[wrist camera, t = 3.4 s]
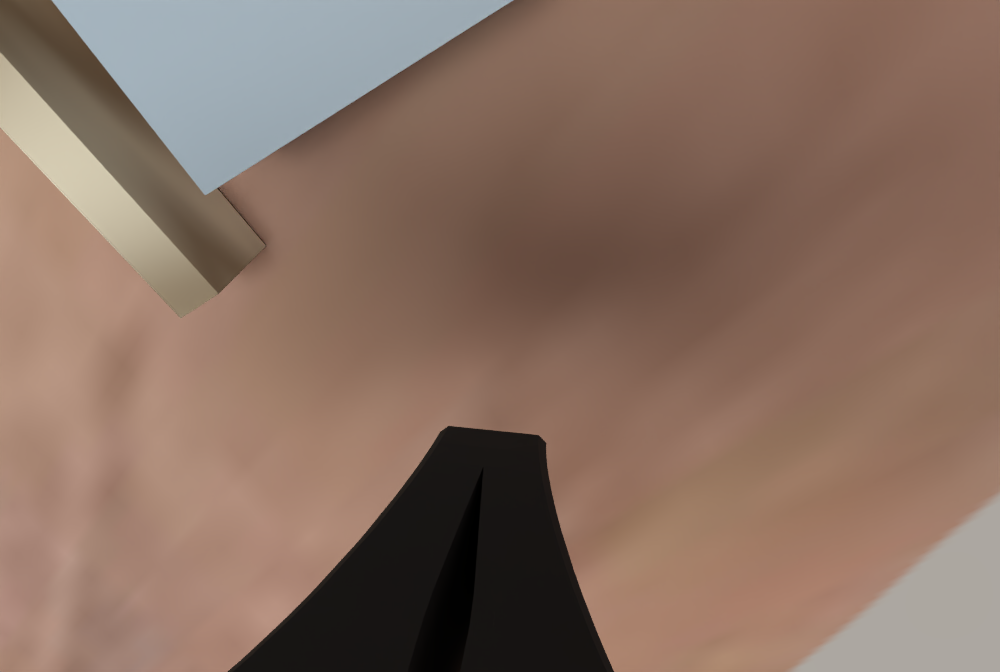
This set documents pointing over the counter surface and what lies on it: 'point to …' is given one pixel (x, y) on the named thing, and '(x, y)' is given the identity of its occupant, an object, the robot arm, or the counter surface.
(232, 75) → the block
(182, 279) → the channel
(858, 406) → the counter surface
